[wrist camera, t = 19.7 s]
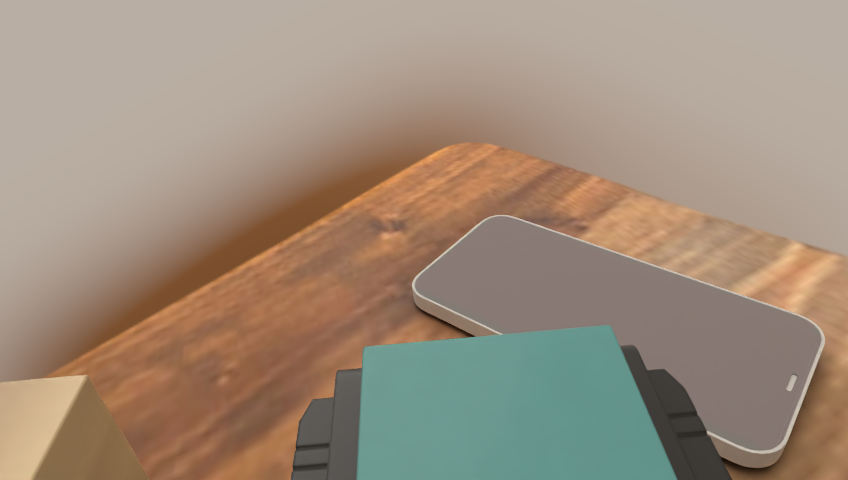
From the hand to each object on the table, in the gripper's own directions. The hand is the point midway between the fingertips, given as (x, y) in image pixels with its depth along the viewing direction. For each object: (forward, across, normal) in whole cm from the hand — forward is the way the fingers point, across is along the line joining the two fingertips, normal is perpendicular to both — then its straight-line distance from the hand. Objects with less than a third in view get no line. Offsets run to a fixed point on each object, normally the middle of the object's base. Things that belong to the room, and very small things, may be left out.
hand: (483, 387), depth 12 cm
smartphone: (+10, -6, +8) cm, 14 cm away
